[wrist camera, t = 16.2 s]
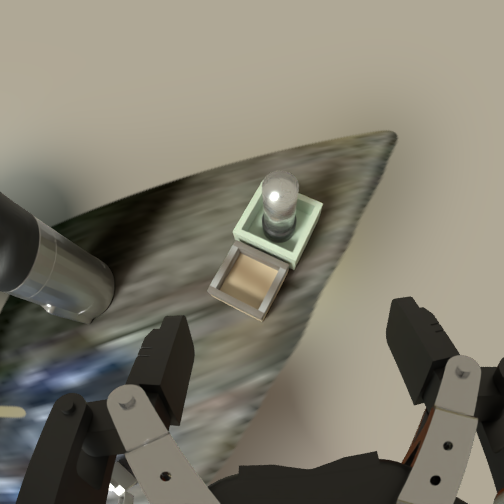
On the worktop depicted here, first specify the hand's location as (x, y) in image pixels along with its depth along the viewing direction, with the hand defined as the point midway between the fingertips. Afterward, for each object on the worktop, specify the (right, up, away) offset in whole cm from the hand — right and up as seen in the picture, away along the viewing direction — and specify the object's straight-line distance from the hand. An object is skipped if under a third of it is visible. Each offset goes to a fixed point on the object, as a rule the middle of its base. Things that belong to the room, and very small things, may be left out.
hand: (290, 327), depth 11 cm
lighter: (-18, -30, +21) cm, 41 cm away
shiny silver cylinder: (+2, +6, +30) cm, 31 cm away
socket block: (-2, -1, +29) cm, 29 cm away
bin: (+2, +6, +31) cm, 32 cm away
